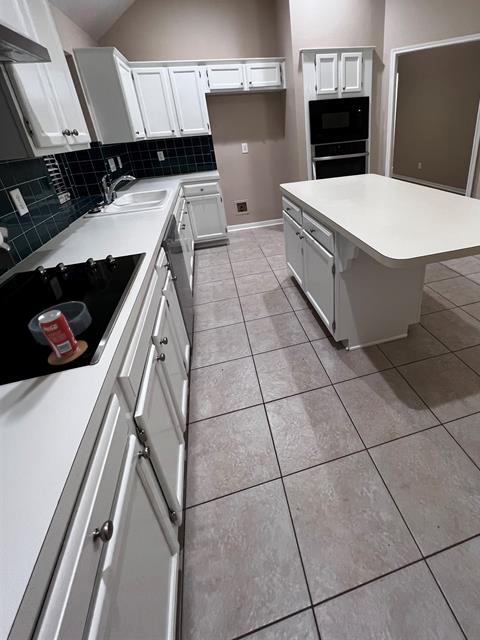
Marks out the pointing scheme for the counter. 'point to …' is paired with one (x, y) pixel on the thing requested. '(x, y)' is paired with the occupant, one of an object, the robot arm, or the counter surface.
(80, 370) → the counter surface
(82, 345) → the coaster
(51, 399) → the counter surface
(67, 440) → the counter surface
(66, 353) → the soda can
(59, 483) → the counter surface
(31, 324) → the bowl
